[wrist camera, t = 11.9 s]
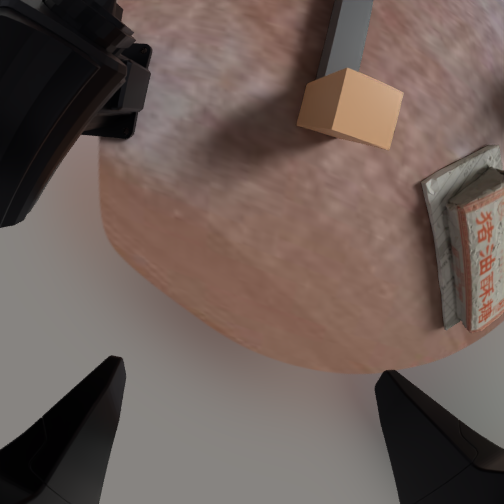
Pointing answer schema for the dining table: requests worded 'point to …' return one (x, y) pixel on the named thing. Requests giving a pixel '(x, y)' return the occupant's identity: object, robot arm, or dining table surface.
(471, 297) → the packaged product
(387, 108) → the scraper
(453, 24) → the dining table surface
